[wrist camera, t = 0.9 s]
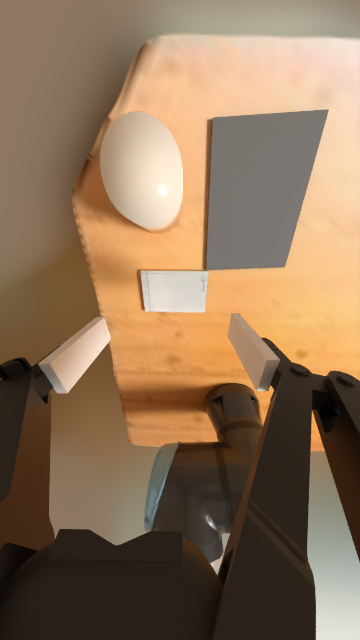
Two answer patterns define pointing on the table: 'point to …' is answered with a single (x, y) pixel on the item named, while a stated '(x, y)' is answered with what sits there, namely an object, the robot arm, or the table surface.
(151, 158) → the cream rounded cylinder
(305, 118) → the mat
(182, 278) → the hard drive
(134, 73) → the table surface
